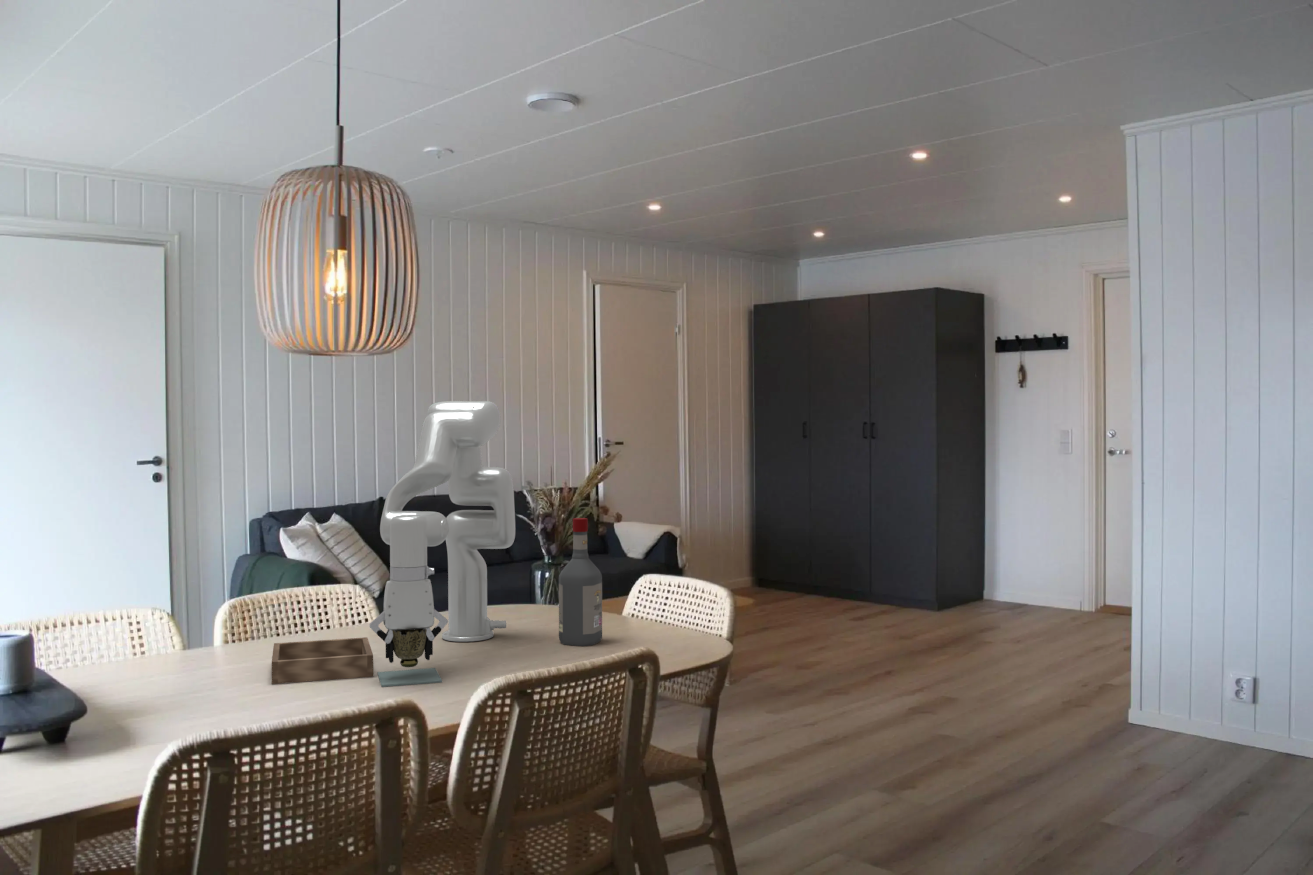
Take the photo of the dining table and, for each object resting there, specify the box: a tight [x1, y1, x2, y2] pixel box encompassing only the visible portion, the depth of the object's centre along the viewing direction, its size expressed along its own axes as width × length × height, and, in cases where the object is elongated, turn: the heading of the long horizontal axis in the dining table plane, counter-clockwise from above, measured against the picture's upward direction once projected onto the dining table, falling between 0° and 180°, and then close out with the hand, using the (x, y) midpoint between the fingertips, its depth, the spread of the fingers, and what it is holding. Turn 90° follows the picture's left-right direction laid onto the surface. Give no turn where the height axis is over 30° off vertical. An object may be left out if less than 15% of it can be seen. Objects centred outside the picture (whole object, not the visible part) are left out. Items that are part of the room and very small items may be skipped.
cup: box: [392, 629, 427, 668], centre depth 220 cm, size 8×7×8 cm
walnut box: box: [271, 637, 374, 685], centre depth 227 cm, size 20×20×4 cm
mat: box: [377, 667, 443, 688], centre depth 220 cm, size 12×12×1 cm
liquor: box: [558, 517, 603, 647], centre depth 256 cm, size 9×9×30 cm
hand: (409, 659), depth 220 cm, fingers closed on cup, 6 cm apart
